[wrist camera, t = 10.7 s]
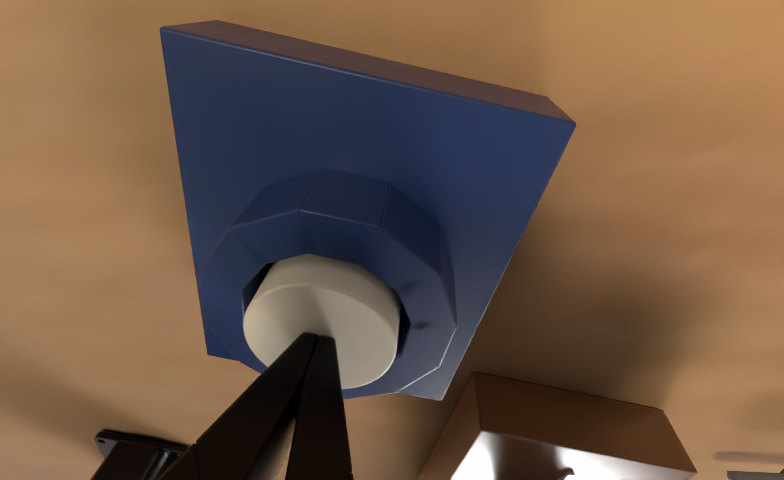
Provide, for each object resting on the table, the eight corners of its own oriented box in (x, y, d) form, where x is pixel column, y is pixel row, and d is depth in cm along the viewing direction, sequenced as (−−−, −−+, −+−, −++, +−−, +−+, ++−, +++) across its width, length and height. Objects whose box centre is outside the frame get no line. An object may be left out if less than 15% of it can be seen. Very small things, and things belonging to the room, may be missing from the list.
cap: (388, 345, 12) (381, 401, 11) (270, 321, 12) (245, 374, 10) (415, 252, 10) (412, 304, 8) (271, 221, 10) (238, 268, 8)
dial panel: (558, 502, 25) (572, 560, 23) (418, 475, 25) (416, 532, 22) (663, 409, 19) (701, 477, 16) (473, 371, 18) (481, 434, 16)
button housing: (440, 350, 18) (443, 459, 14) (235, 308, 17) (174, 407, 13) (548, 96, 11) (620, 159, 7) (215, 19, 11) (76, 35, 6)
